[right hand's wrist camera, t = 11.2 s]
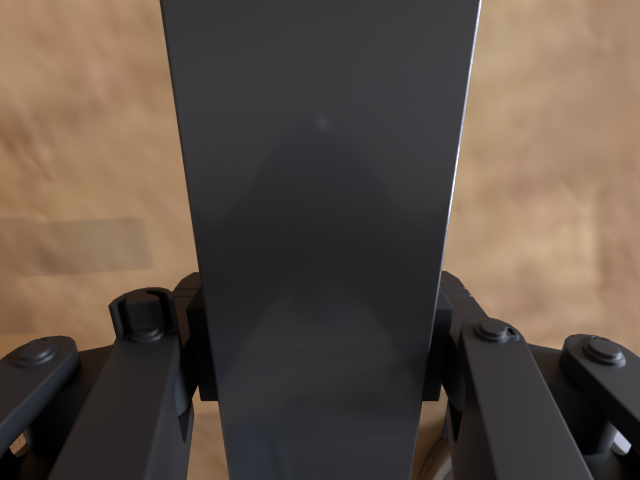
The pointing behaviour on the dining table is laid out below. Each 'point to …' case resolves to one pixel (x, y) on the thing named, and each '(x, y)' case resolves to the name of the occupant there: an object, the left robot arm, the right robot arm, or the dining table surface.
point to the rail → (320, 217)
